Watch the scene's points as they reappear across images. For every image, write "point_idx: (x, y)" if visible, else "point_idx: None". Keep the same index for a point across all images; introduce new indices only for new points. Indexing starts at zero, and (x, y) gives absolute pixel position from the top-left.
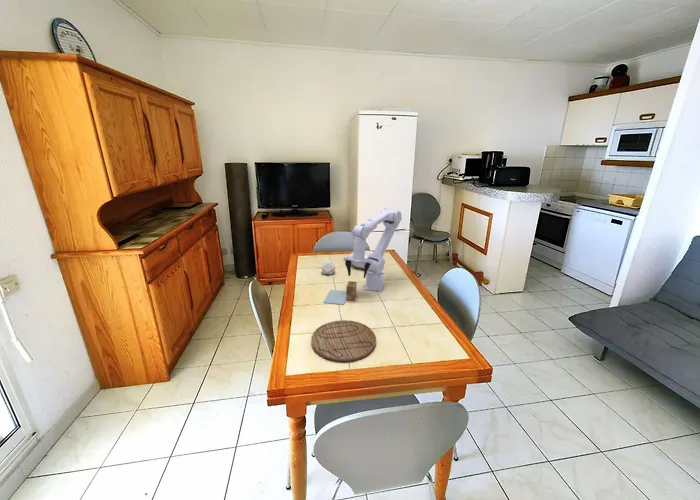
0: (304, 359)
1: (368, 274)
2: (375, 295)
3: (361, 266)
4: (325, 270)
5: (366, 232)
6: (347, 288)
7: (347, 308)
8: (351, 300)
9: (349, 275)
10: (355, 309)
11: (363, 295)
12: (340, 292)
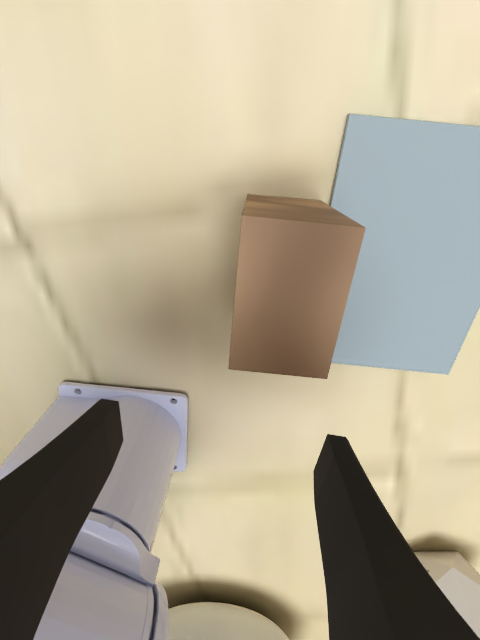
0: None
1: (119, 512)
2: (93, 320)
3: (228, 616)
4: (472, 581)
5: None
6: (341, 221)
7: (310, 34)
8: (274, 196)
9: (333, 441)
10: (226, 19)
11: (183, 313)
12: (368, 338)
